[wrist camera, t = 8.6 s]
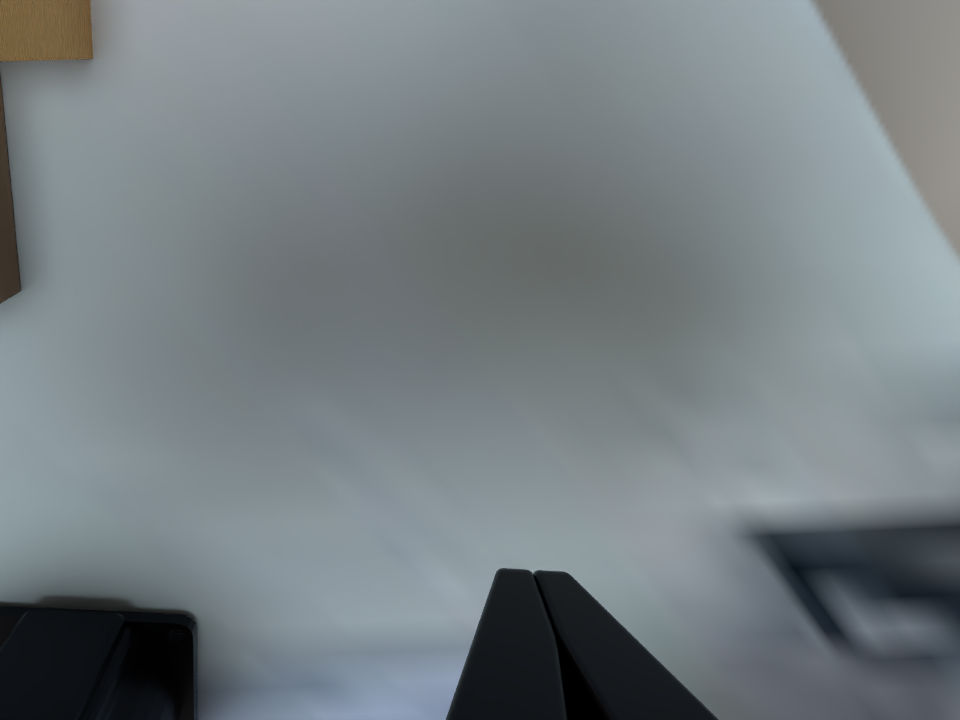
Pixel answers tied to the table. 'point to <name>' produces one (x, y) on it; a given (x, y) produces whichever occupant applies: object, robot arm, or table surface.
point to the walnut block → (6, 223)
